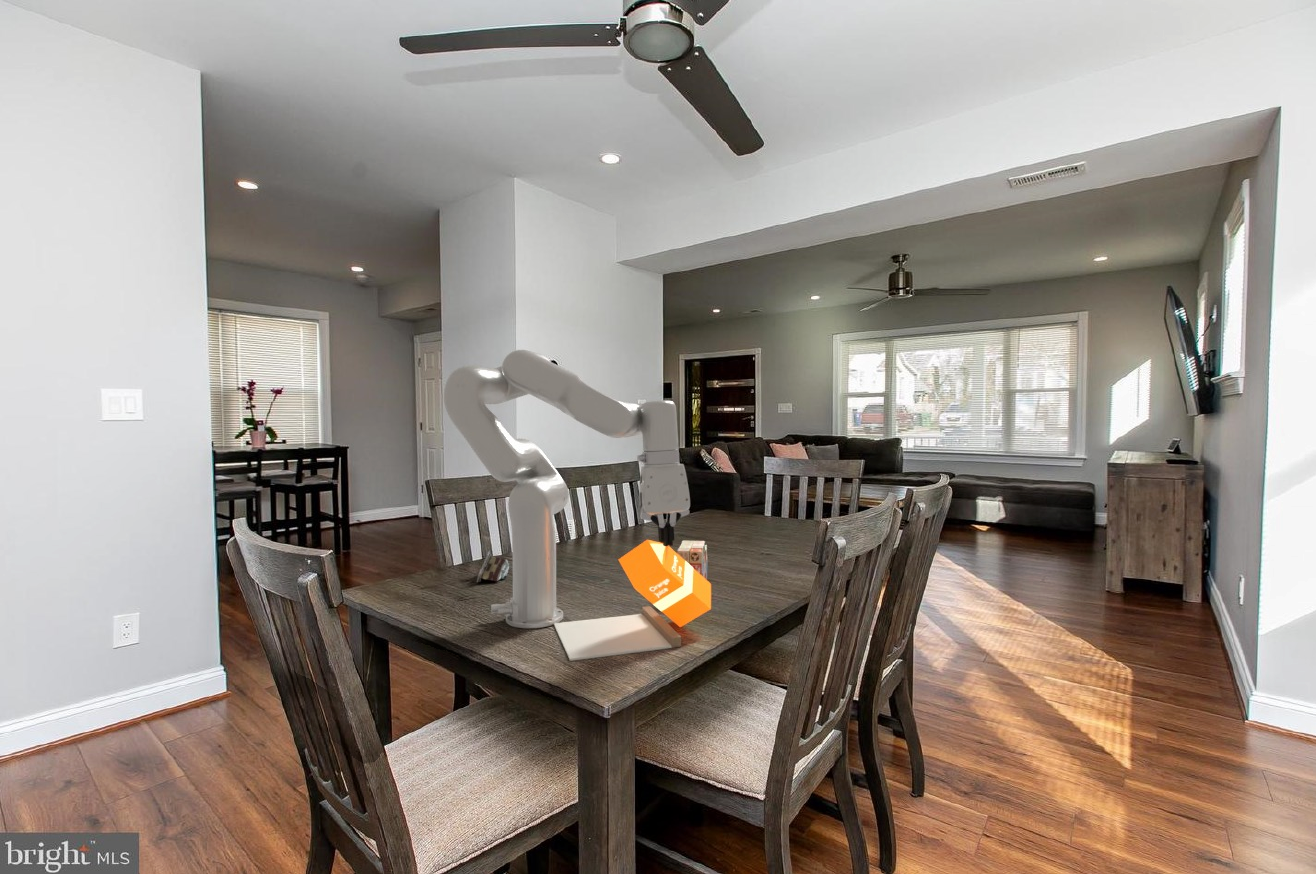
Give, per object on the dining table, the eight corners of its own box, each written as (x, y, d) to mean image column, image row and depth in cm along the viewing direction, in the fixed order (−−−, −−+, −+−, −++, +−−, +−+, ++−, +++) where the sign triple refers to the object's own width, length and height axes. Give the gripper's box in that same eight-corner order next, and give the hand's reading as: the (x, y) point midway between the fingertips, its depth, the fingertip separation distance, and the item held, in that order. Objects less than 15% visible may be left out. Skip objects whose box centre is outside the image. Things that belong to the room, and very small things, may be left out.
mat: (570, 660, 111) (570, 650, 111) (553, 625, 130) (553, 616, 130) (681, 646, 118) (681, 636, 118) (650, 614, 137) (650, 606, 137)
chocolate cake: (502, 584, 159) (515, 548, 168) (476, 578, 158) (490, 542, 167) (499, 602, 165) (511, 566, 174) (473, 596, 165) (487, 560, 173)
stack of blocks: (685, 576, 170) (685, 533, 170) (707, 577, 170) (707, 534, 169) (676, 598, 149) (677, 549, 149) (701, 600, 148) (702, 550, 148)
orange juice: (711, 609, 125) (645, 551, 119) (679, 627, 129) (614, 572, 122) (711, 583, 132) (649, 527, 126) (681, 601, 135) (619, 548, 129)
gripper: (632, 462, 121) (637, 552, 121) (700, 456, 125) (706, 544, 125) (623, 461, 128) (628, 546, 128) (688, 455, 132) (693, 538, 133)
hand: (666, 544), depth 127 cm, fingers closed
